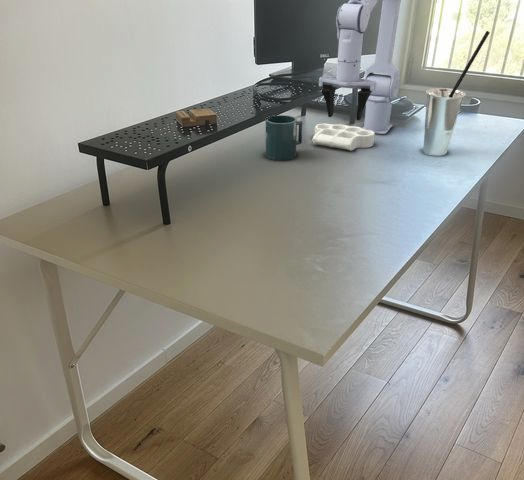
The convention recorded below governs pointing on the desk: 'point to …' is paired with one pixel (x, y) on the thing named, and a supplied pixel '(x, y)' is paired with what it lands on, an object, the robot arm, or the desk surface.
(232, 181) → the desk surface
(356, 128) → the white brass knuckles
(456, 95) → the metal cup with straw
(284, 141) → the mug
